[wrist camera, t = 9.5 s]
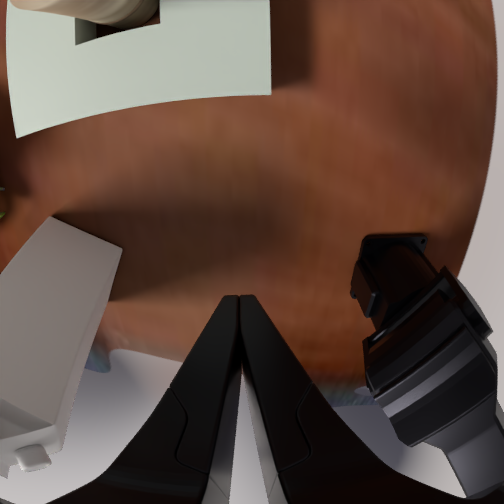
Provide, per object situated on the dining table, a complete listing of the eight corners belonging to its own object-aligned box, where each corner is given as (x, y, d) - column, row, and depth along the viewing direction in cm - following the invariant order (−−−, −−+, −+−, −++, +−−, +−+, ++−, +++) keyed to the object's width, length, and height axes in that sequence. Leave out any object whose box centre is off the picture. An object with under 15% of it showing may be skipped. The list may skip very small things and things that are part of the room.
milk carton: (44, 274, 23) (-37, 452, 7) (50, 213, 20) (-78, 421, 4) (107, 302, 25) (54, 500, 10) (124, 246, 22) (42, 496, 6)
